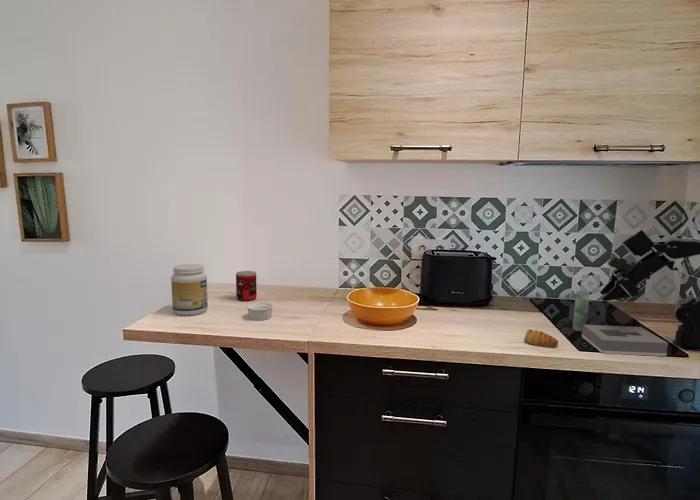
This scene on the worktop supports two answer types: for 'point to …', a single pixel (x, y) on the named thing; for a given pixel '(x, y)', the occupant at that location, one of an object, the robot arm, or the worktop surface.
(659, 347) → the keyhole plate
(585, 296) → the teal post
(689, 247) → the robot arm
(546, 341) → the pastry
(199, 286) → the supplement tub
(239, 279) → the canned food
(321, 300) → the worktop surface
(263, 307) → the ramekin
